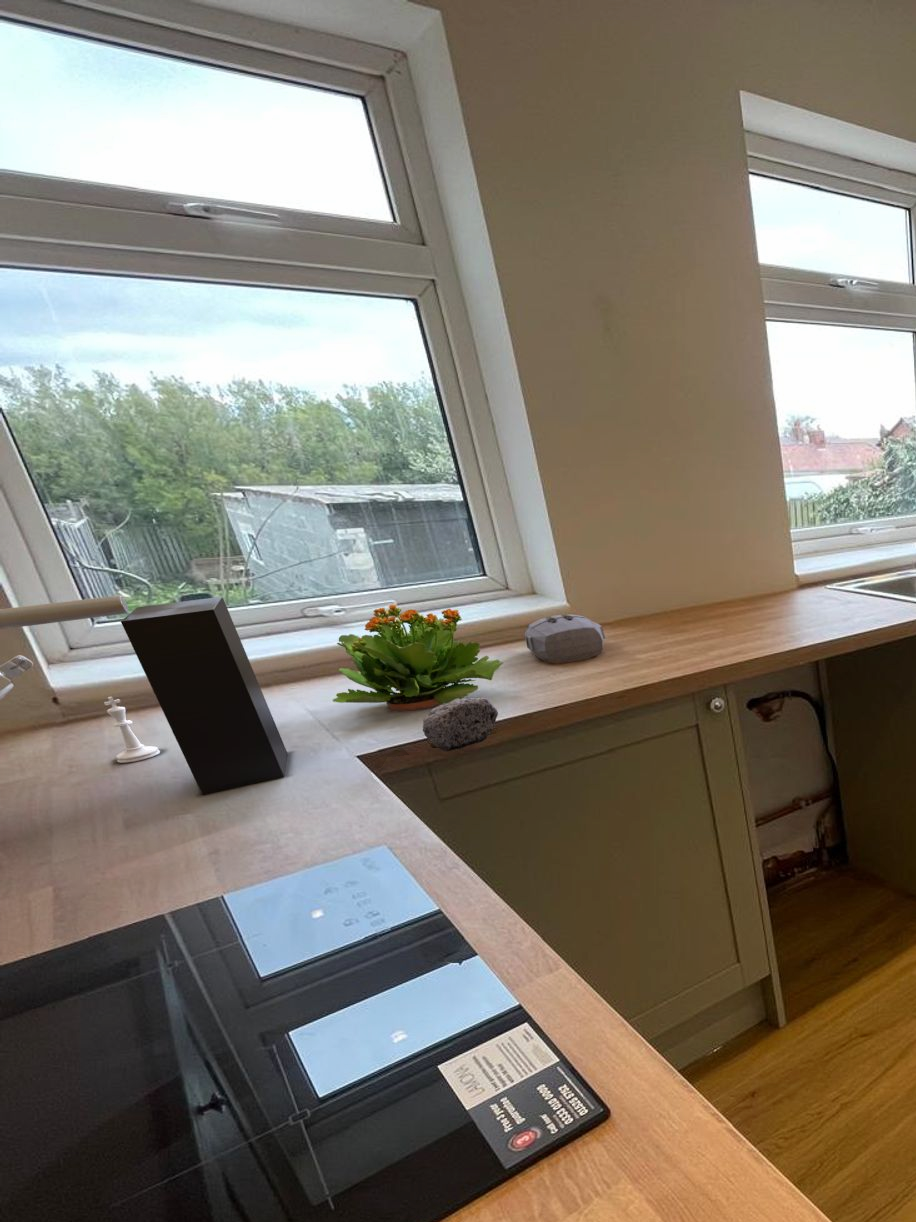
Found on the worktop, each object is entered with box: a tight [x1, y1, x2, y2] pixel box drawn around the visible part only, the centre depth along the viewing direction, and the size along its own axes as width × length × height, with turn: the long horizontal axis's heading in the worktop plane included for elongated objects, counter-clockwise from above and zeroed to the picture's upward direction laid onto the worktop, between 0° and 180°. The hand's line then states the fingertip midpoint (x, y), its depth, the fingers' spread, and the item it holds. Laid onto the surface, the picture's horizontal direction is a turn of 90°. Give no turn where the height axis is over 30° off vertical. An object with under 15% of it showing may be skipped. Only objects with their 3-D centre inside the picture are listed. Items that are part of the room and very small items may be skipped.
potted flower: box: [332, 604, 504, 712], centre depth 145 cm, size 25×24×18 cm
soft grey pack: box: [524, 613, 606, 664], centre depth 176 cm, size 15×8×20 cm
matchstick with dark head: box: [0, 594, 130, 630], centre depth 103 cm, size 18×3×3 cm, turn 128°
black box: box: [120, 596, 288, 796], centre depth 115 cm, size 9×12×25 cm
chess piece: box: [103, 696, 161, 764], centre depth 127 cm, size 5×5×10 cm
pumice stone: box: [422, 697, 499, 752], centre depth 128 cm, size 10×8×10 cm
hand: (16, 667), depth 102 cm, fingers open, 8 cm apart
